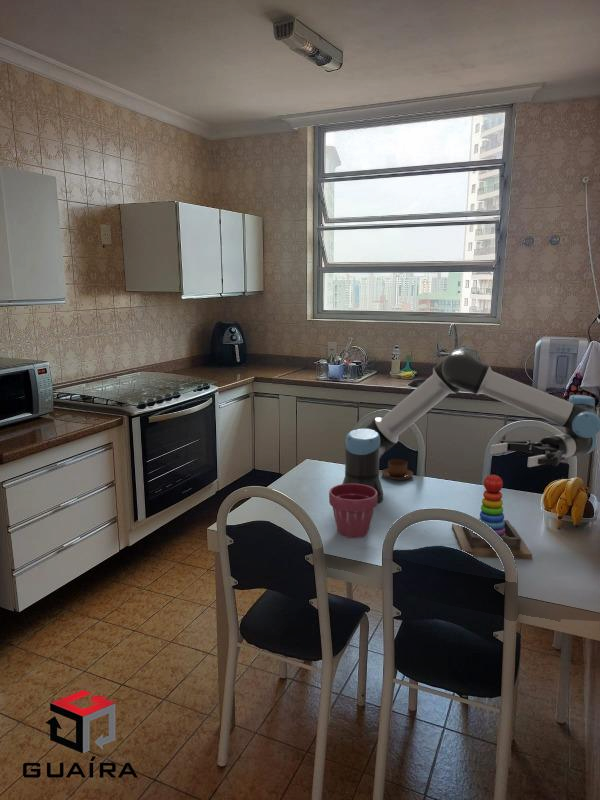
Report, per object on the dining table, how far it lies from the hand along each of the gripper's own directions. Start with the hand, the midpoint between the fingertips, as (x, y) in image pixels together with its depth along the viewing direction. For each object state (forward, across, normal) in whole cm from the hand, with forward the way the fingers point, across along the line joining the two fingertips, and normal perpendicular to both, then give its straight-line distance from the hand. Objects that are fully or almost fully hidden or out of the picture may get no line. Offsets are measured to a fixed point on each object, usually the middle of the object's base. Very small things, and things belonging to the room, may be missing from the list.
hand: (509, 455), depth 163 cm
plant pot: (+41, +20, -24) cm, 52 cm away
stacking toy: (+11, -5, -22) cm, 25 cm away
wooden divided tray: (+11, -5, -23) cm, 26 cm away
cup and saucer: (-3, +54, -24) cm, 59 cm away
